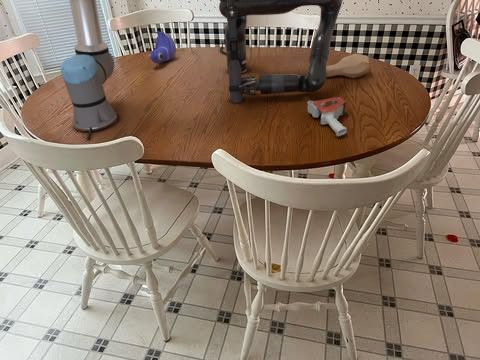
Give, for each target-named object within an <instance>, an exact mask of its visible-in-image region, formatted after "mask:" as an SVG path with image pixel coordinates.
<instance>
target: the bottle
mask: <svg viewBox="0 0 480 360" xmlns="http://www.w3.org/2000/svg"><path fill="white" fill-rule="evenodd" d="M242 76H243V75H242V73H241V67H240V64H239V61H238V60H231V59H230V64H229V73H228V86H229V85H230V86H237V85H238V86H239V85H242ZM243 95H244V94H240V92H239V91H238V92H229V96H230V97H229V98H230V102H231V103H233V104H234V103H235V104H236V103H242V102H243V100H244V99H243V98H244V96H243Z"/></svg>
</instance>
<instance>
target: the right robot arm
mask: <svg viewBox="0 0 480 360" xmlns="http://www.w3.org/2000/svg"><path fill="white" fill-rule="evenodd" d="M343 1H344V0H240V1H235V2H234V6H236V7H237V13H236V14H237V20H236V30H237V48H238V51H239V53H240V57H239V58H238V61H239V64H240V67H241V74H245V73H246V72H247V71H248V67H247V66H248V65H247V62H248V59H247V39H246V28H247V24H248V23H247V21H248V20H247V19H248V18H247V16H269V15H270V16H274V15H283V14H288V13H290V12H292V11H294V10H296V9H298V8H301V7H307V6H308V7H309V6H317V7H319V9H320V17H319V24H318V28H317V30H316V32H315V35H314V37H313V40H312V43H311V47H310V52H309V59H308V64H309V66H308V72H307V74H297V73H272V74H271V73H268V74H266V73H265V74H260V75H259V78H256V77H255V75H249V76H243V77H242V85H239V86H238V85H237V86H230V85H229V84H228V92H229V93H230V92H238V91H239V92H240V94H242V95H248V96H249V95H251V96H254V95H256V92H260V95H280V94H283V93H284V94H286V93H287V94H288V93H314V92H318V91H319V90H321V89H322V88H323V87H324V85H325V82H326V78H327V77H326V66H327V64H328V61H329V54H330V49H331V43H332V39H333V38H332V37H333V34H334V29H335V26H336V23H337V20H338V16H339V14H340V11H341V8H342V5H343ZM226 5H227V2H221V1H220V2H219V5H218V10H219V12H220V14H221V15H222V16H223V17H224V18H225V19H227V17H226V11H225V6H226ZM228 33H229V32H228V22H227V23H226V25H225V26H224V37H225V51H224V50H222V49H223V48H224V41H222V42H221V46H220V48H219V52H220V53H222V54H224V55H226V65H227V67H226V68H227V73H228V74H229V64H230V59H229V58H228V51H230V48H229V42H228V40H229V34H228Z"/></svg>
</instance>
